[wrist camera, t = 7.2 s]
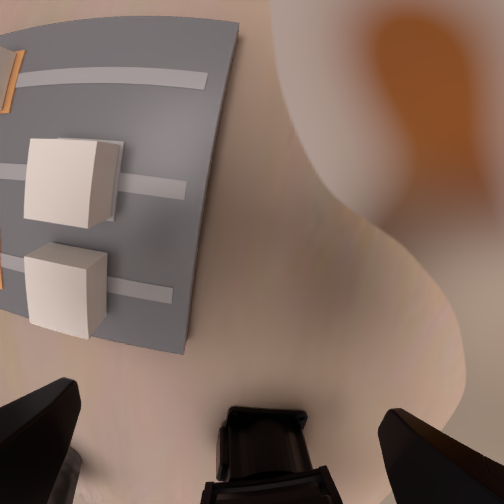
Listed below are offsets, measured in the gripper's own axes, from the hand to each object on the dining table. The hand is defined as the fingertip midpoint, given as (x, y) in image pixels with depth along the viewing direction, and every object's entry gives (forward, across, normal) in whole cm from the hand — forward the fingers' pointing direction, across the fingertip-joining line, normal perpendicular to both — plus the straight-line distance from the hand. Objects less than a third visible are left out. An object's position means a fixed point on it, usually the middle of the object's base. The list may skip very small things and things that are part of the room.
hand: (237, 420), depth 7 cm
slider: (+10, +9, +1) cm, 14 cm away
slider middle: (+10, +9, -5) cm, 15 cm away
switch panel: (+12, +12, -5) cm, 18 cm away
